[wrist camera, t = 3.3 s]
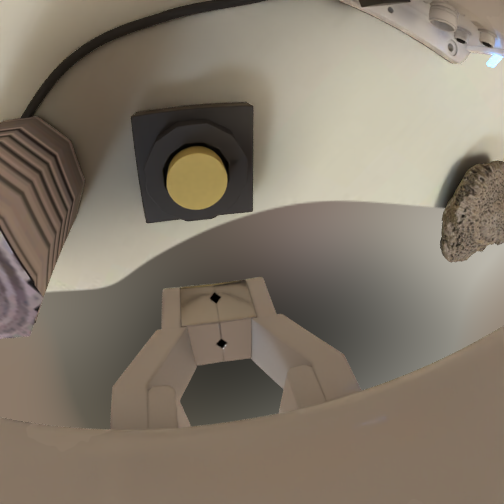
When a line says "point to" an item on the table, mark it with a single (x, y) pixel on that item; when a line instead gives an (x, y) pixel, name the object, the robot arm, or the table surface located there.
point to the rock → (474, 213)
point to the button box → (187, 135)
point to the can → (33, 215)
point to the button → (196, 178)
